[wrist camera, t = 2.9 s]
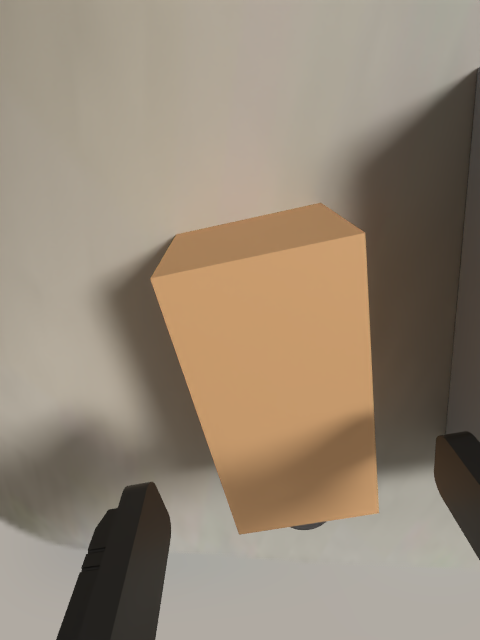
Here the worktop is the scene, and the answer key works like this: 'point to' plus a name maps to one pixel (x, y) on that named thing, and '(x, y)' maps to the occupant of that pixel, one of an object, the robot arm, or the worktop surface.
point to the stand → (468, 305)
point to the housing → (278, 362)
